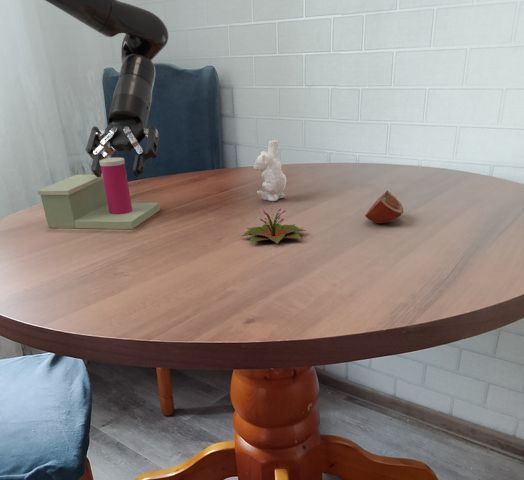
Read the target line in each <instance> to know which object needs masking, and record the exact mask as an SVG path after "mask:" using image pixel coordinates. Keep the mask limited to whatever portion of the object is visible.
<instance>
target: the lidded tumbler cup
mask: <svg viewBox="0 0 524 480" xmlns="http://www.w3.org/2000/svg"><path fill="white" fill-rule="evenodd" d="M99 162H100V165H101V171H102V174H101V175H102V176H103V182H104V187H105V192H106V198H107V203H108V208H109V213H111V214H125V213H129V212H131V211H132V204H131V203H132V199H131V193H130V188H129V182H128V175H127V169H126V160H125V158H124V157H107V158H106V159H102V160H100V161H99Z"/></svg>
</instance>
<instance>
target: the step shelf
mask: <svg viewBox="0 0 524 480" xmlns="http://www.w3.org/2000/svg"><path fill="white" fill-rule="evenodd" d="M36 192H37V195H38V196H40V199H41V203H42V207H43V211H44V216H45V219H46V223H47V227H48V229H49V228H50V229H92V230H93V229H95V230H96V229H97V230H98V229H99V230H100V229H101V230H134V229H135V228H137V226H139V225H141V224H142V223H144V222H145V221H147V220H148V219H150V218H151V217H152V216H154V215H155V214H157V213H158V212H160V211H161V206H160V205H161V204H160V202H131V204H132V211H131V212H129V213H125V214H111V213H109V208H108V203H107V198H106V192H105V187H104V182H103V176H102V174H101V177H96V176H95V174H74V175H72V176H70V177H67V178H65V179H62V180H59V181H57V182H55V183H52V184H49V185H47V186H45V187H43V188H40V189H38V190H37V191H36Z"/></svg>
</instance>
